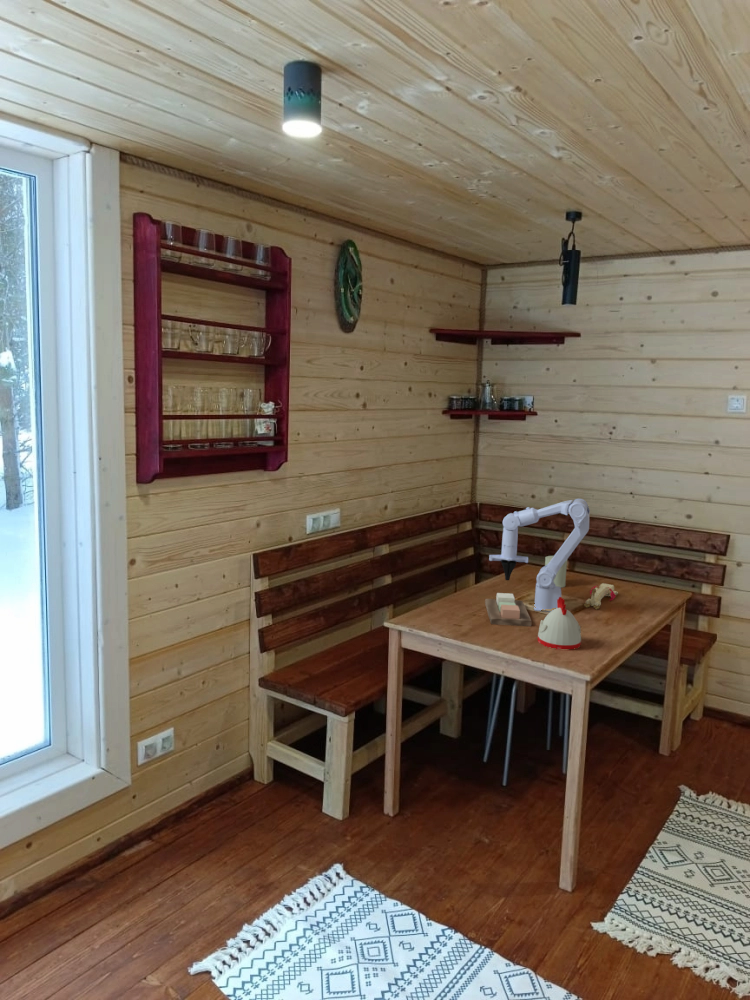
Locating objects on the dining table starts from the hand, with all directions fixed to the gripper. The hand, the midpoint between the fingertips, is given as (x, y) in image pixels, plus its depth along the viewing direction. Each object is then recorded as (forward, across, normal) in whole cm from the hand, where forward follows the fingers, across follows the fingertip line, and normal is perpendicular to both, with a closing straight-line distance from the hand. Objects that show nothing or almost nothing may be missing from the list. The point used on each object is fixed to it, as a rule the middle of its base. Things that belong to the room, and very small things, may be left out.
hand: (507, 579), depth 288 cm
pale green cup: (+10, +24, +31) cm, 40 cm away
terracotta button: (+8, -1, -21) cm, 23 cm away
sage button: (+9, -1, -14) cm, 17 cm away
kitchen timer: (+10, +13, -41) cm, 44 cm away
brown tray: (+9, -1, -14) cm, 17 cm away
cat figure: (+10, +39, +11) cm, 41 cm away
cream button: (+8, -1, -7) cm, 10 cm away
